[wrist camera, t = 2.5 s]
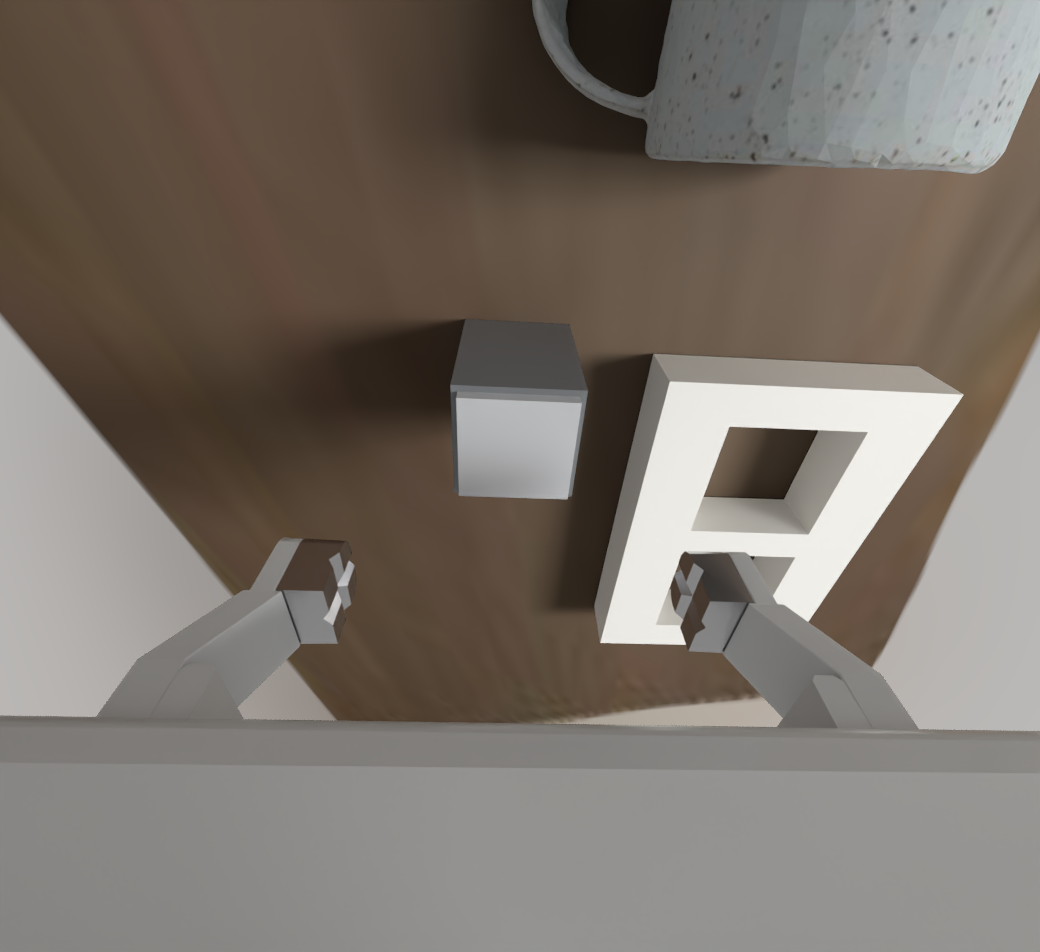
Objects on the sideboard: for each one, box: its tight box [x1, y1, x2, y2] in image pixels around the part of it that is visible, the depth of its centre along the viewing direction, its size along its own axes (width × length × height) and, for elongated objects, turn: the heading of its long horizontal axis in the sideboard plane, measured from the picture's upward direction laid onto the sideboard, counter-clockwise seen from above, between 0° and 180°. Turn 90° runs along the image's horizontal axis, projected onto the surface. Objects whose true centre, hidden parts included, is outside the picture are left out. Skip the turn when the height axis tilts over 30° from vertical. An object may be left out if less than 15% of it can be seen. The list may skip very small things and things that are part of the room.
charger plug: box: [450, 319, 588, 499], centre depth 17 cm, size 4×4×6 cm
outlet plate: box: [594, 354, 963, 645], centre depth 23 cm, size 16×11×2 cm
